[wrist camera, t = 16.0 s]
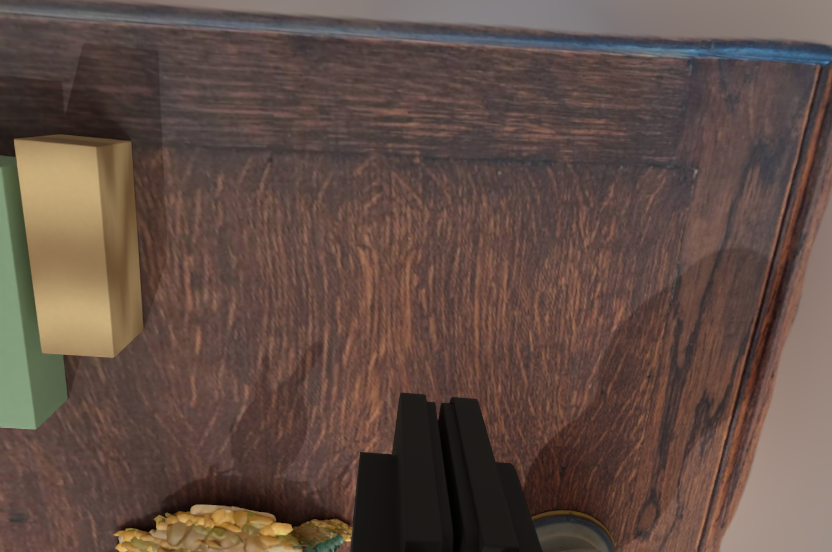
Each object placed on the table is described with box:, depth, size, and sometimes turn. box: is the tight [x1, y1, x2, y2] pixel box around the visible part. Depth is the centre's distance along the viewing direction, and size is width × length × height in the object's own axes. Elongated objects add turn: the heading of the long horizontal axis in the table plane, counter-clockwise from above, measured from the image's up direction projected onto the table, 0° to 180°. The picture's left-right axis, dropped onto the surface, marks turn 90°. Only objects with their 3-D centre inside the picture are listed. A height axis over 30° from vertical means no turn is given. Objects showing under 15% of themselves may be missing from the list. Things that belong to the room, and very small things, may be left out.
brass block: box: [14, 134, 143, 357], centre depth 30 cm, size 12×4×4 cm, turn 174°
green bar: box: [0, 155, 68, 429], centre depth 31 cm, size 16×4×4 cm, turn 174°
